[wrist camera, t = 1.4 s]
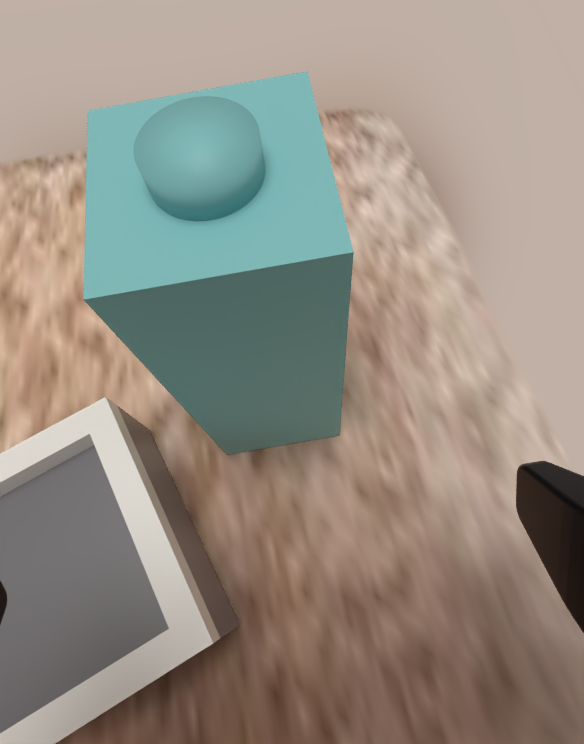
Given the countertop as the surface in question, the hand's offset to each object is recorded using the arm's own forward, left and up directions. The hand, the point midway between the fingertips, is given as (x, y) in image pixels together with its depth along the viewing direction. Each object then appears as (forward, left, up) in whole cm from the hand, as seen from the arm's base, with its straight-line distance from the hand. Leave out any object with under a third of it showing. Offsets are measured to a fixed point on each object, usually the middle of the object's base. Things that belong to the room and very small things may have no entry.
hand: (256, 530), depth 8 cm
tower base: (+2, +8, -12) cm, 15 cm away
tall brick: (+7, -1, -12) cm, 14 cm away
